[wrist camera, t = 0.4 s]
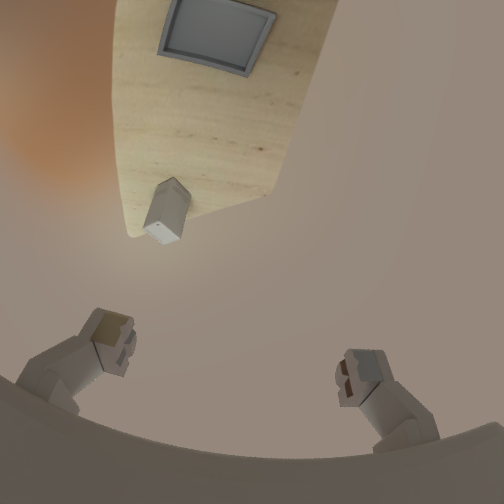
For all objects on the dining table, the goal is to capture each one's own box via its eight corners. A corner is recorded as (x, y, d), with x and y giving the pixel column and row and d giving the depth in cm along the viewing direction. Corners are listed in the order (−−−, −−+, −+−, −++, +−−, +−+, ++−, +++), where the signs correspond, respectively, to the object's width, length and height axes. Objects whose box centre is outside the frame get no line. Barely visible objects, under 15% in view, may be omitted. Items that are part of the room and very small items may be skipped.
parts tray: (162, 50, 42) (156, 54, 40) (181, -11, 31) (175, -11, 29) (249, 72, 47) (247, 77, 45) (276, 13, 36) (276, 15, 34)
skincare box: (157, 184, 74) (140, 228, 65) (174, 175, 71) (158, 220, 62) (176, 203, 79) (162, 246, 71) (193, 195, 77) (181, 240, 68)
